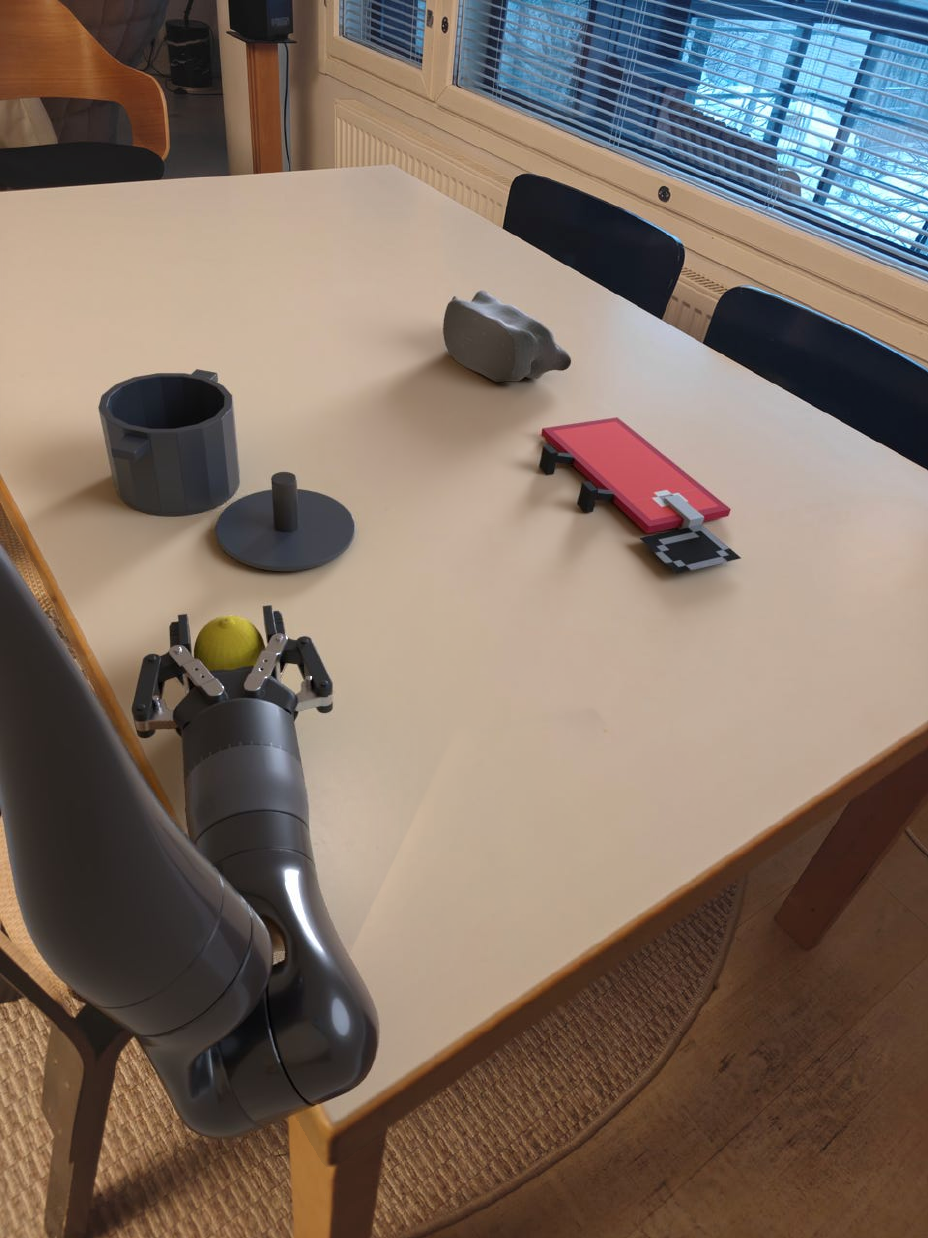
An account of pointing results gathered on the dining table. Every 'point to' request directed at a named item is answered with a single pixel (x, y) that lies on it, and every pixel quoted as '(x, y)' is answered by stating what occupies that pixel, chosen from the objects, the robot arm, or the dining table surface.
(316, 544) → the pot lid
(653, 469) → the red board with handle
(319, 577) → the dining table surface
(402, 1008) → the dining table surface
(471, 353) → the rock
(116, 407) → the pot
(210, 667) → the lemon
